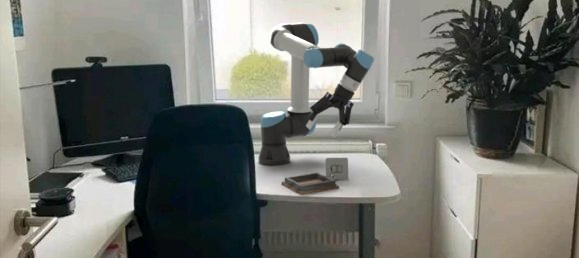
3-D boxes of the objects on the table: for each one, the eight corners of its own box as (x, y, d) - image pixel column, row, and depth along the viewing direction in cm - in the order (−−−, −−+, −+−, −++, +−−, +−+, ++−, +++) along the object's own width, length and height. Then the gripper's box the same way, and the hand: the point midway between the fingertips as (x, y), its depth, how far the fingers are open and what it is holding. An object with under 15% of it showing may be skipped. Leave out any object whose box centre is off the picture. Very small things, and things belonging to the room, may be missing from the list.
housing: (281, 184, 228) (281, 177, 228) (317, 178, 236) (317, 171, 235) (301, 195, 213) (301, 187, 213) (339, 188, 221) (339, 180, 221)
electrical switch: (325, 180, 232) (325, 158, 232) (325, 178, 238) (325, 156, 237) (348, 180, 232) (348, 158, 231) (347, 178, 237) (347, 156, 236)
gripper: (329, 81, 211) (301, 128, 217) (373, 100, 227) (346, 143, 232) (319, 73, 217) (293, 119, 223) (363, 92, 232) (337, 134, 238)
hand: (320, 132), depth 227 cm, fingers open, 13 cm apart
